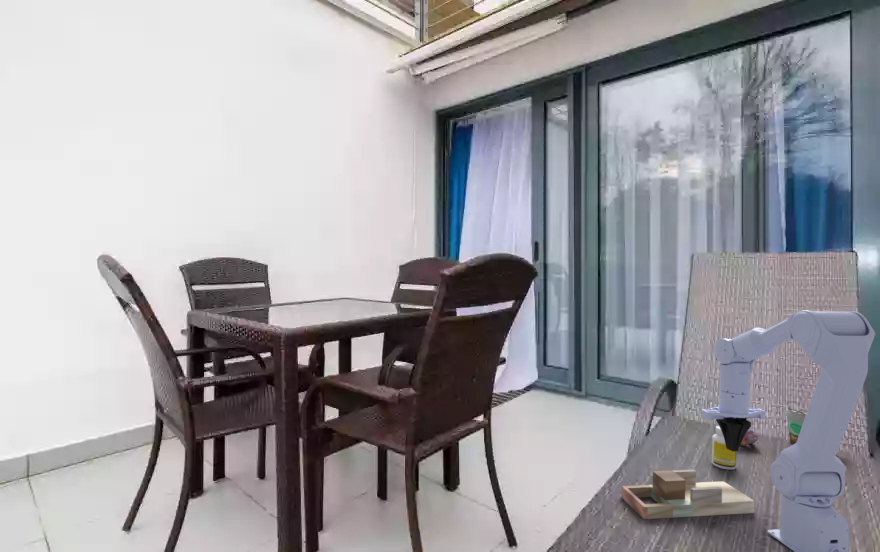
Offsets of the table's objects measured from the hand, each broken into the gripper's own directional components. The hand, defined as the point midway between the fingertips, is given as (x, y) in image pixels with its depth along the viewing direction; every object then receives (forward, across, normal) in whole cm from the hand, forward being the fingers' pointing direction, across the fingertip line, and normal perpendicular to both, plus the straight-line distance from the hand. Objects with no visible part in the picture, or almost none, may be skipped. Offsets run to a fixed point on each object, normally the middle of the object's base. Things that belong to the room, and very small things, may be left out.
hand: (732, 449), depth 103 cm
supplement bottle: (+10, -8, -12) cm, 17 cm away
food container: (+10, -41, -21) cm, 47 cm away
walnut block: (+7, +19, +5) cm, 21 cm away
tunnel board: (+9, +15, +5) cm, 18 cm away
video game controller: (+10, -23, -25) cm, 35 cm away
